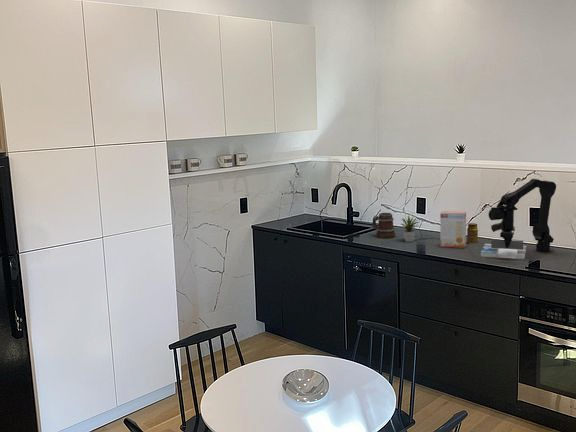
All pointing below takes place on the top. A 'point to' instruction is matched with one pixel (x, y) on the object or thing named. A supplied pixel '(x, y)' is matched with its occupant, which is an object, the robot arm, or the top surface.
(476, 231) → the condiment
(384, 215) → the mug
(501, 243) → the long grey beam
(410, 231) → the house plant
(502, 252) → the white plate with bars
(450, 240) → the cracker box
